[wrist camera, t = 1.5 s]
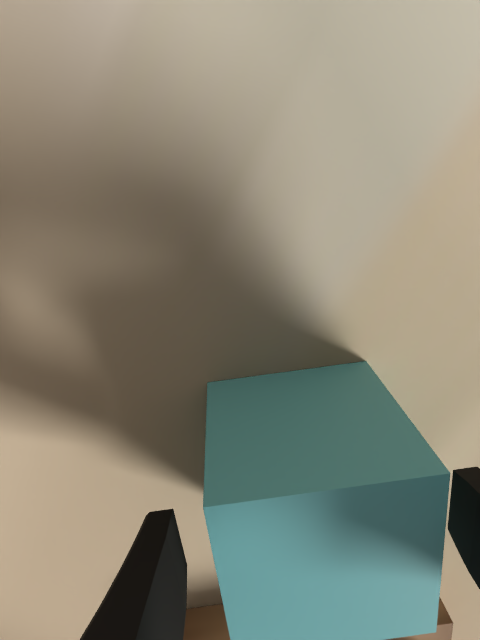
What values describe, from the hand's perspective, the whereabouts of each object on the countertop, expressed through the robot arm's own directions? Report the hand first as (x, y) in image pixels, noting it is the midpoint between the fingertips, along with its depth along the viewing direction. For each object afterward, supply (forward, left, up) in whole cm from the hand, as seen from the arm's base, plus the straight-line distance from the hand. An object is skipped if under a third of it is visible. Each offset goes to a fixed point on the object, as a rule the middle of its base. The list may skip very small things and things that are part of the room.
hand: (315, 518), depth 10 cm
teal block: (0, 0, -4) cm, 4 cm away
